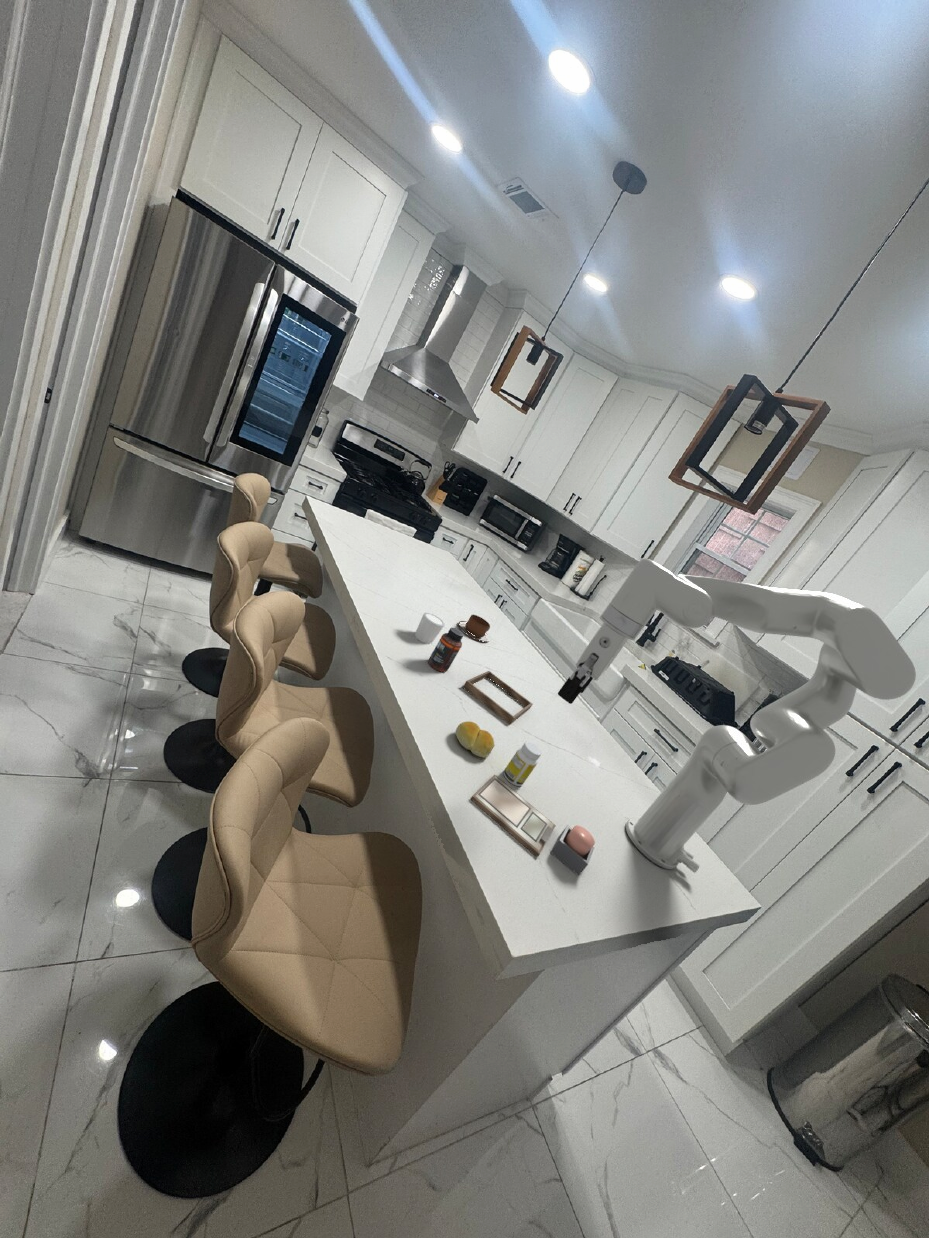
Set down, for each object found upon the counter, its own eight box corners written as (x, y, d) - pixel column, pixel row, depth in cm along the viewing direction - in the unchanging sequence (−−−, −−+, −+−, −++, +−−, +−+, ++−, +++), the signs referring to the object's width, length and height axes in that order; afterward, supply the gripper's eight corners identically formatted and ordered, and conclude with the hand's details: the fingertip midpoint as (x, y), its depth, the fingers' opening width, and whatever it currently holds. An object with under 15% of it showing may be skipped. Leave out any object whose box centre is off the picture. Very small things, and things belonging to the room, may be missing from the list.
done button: (587, 849, 93) (596, 838, 92) (582, 861, 89) (592, 849, 88) (567, 832, 94) (576, 821, 93) (562, 844, 90) (571, 832, 89)
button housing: (585, 858, 94) (594, 847, 93) (578, 875, 88) (588, 864, 88) (558, 836, 96) (567, 825, 95) (550, 851, 90) (559, 840, 89)
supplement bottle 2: (522, 776, 108) (543, 747, 105) (522, 790, 103) (544, 759, 101) (502, 766, 107) (523, 736, 105) (502, 779, 103) (523, 748, 100)
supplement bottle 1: (448, 667, 138) (468, 634, 134) (445, 675, 132) (466, 640, 129) (429, 656, 138) (449, 622, 134) (425, 664, 132) (445, 629, 129)
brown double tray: (553, 828, 97) (557, 822, 97) (537, 857, 87) (541, 851, 87) (492, 777, 102) (496, 771, 101) (470, 798, 92) (474, 792, 91)
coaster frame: (528, 710, 140) (532, 703, 140) (510, 724, 126) (514, 718, 126) (485, 676, 145) (489, 670, 145) (462, 687, 131) (466, 680, 131)
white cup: (410, 629, 148) (421, 609, 146) (431, 636, 151) (442, 617, 149) (414, 640, 142) (426, 620, 140) (435, 648, 145) (447, 628, 143)
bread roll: (459, 724, 112) (469, 711, 111) (492, 749, 111) (502, 735, 110) (448, 737, 105) (458, 723, 104) (483, 764, 103) (494, 750, 102)
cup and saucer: (466, 624, 179) (475, 610, 177) (492, 644, 174) (501, 629, 172) (450, 626, 168) (459, 611, 166) (477, 647, 164) (486, 631, 162)
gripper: (633, 639, 85) (576, 716, 90) (643, 629, 100) (594, 696, 105) (596, 613, 87) (542, 690, 92) (611, 608, 103) (564, 674, 108)
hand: (570, 693), depth 99 cm, fingers open, 9 cm apart
